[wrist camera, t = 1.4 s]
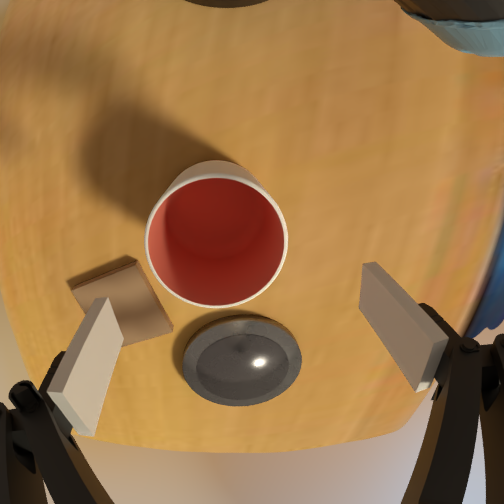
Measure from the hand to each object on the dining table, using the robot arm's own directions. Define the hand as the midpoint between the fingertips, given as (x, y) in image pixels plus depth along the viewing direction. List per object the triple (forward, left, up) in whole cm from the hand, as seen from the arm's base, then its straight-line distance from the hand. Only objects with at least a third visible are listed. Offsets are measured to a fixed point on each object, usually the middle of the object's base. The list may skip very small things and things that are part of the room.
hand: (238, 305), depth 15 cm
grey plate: (+19, 0, -17) cm, 26 cm away
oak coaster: (+9, -13, -17) cm, 23 cm away
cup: (-1, -1, -17) cm, 17 cm away
